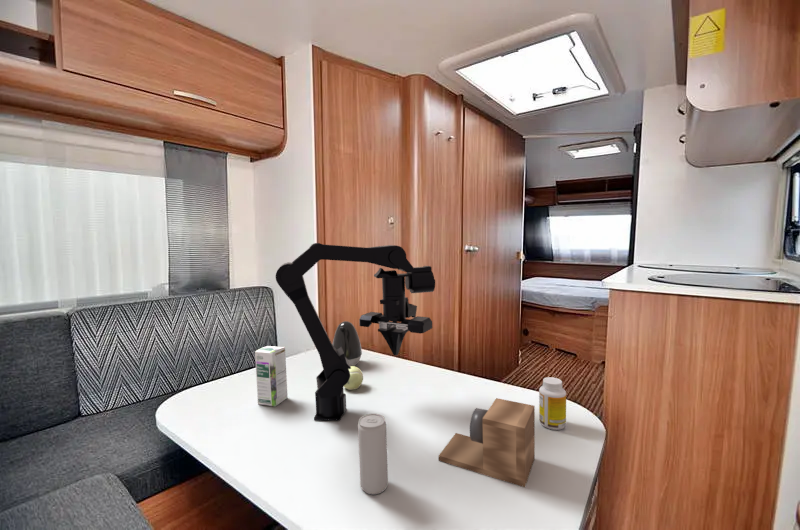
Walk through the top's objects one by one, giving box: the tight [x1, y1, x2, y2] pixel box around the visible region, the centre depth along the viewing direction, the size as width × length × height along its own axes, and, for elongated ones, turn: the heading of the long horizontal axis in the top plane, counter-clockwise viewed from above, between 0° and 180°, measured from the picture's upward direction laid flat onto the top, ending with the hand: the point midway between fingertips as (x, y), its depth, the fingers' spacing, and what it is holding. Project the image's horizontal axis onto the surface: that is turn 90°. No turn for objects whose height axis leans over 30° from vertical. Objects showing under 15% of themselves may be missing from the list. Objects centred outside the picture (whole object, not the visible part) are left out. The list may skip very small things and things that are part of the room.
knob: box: [469, 407, 489, 444], centre depth 68 cm, size 8×6×6 cm
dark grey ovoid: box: [332, 320, 363, 367], centre depth 122 cm, size 10×10×15 cm
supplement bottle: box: [538, 376, 567, 431], centre depth 81 cm, size 6×6×10 cm
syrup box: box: [254, 345, 289, 407], centre depth 97 cm, size 6×6×14 cm
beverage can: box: [357, 413, 389, 496], centre depth 62 cm, size 5×5×12 cm
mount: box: [438, 397, 536, 488], centre depth 69 cm, size 16×9×10 cm, turn 60°
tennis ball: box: [343, 365, 364, 391], centre depth 104 cm, size 6×7×7 cm
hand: (395, 354), depth 92 cm, fingers closed
